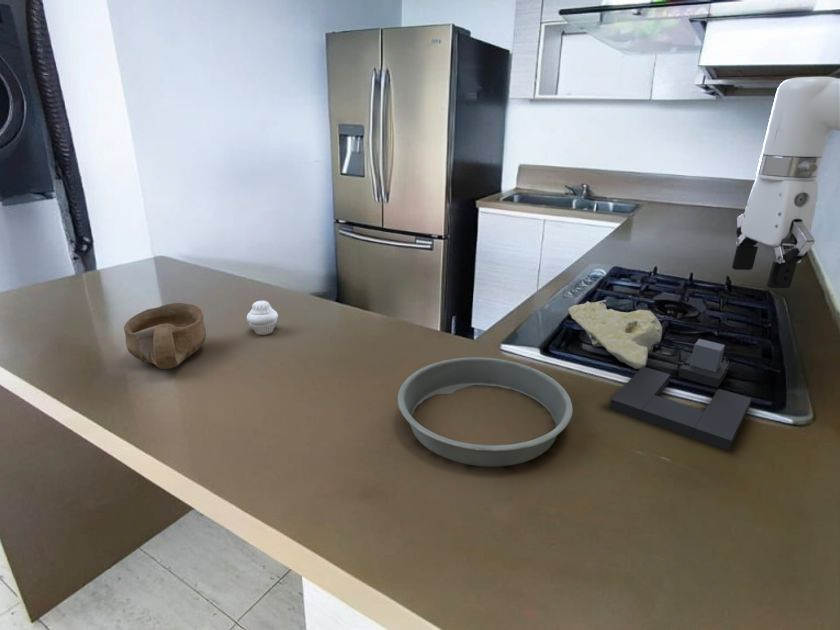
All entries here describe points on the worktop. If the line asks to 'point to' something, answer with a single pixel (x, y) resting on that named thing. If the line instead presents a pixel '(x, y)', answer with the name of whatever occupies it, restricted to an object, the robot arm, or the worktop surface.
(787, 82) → the robot arm
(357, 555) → the worktop surface
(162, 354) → the bowl
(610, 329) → the cheese
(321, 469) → the worktop surface
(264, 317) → the muffin
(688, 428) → the dark grey u-shaped block
